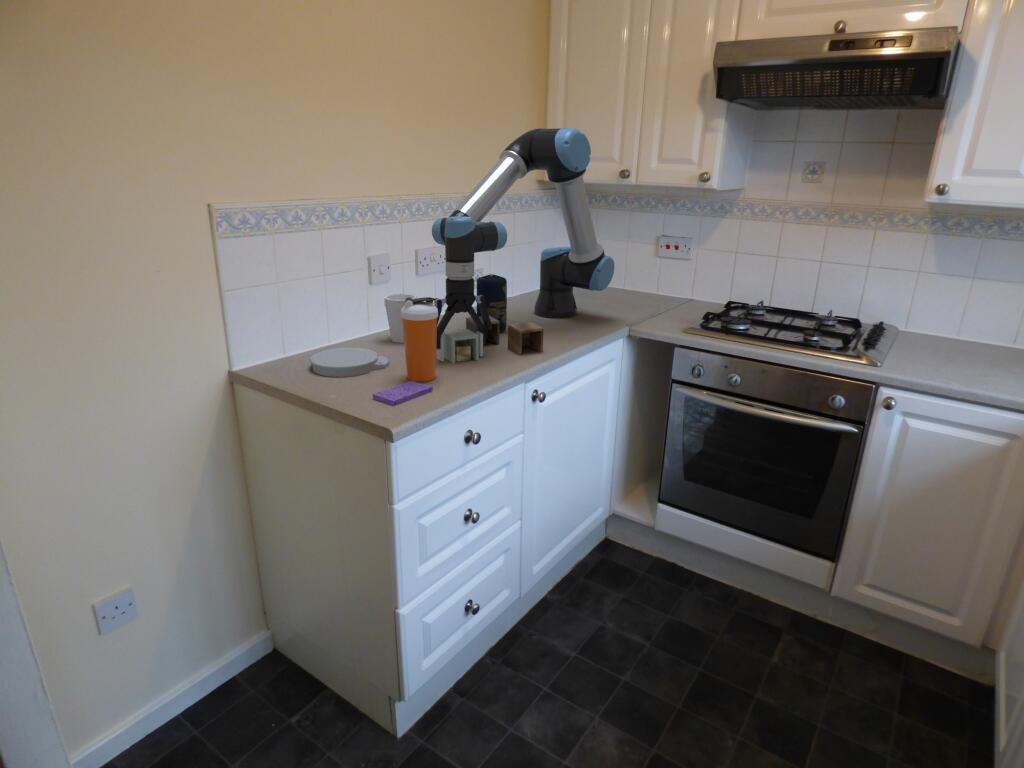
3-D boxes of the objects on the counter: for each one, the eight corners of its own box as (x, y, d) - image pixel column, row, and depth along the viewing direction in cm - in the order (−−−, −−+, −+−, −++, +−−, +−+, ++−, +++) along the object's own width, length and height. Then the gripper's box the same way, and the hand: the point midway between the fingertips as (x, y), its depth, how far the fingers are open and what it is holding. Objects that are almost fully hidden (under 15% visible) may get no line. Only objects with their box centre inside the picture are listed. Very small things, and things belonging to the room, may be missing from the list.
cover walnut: (530, 345, 191) (531, 322, 188) (542, 351, 184) (543, 328, 182) (507, 347, 187) (507, 324, 185) (519, 354, 181) (519, 330, 179)
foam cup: (408, 345, 188) (406, 301, 184) (380, 342, 191) (378, 298, 187) (423, 337, 196) (422, 295, 192) (396, 334, 199) (394, 292, 195)
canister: (502, 335, 200) (503, 277, 194) (473, 333, 202) (473, 276, 196) (509, 328, 209) (510, 272, 203) (480, 326, 211) (480, 271, 204)
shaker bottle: (442, 381, 159) (440, 301, 152) (406, 384, 157) (402, 303, 150) (436, 370, 167) (434, 294, 160) (401, 373, 165) (398, 295, 158)
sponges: (372, 401, 147) (372, 393, 147) (412, 386, 157) (412, 379, 156) (394, 408, 143) (393, 400, 143) (433, 393, 153) (433, 385, 152)
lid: (392, 375, 164) (391, 363, 163) (310, 380, 159) (309, 369, 158) (386, 355, 180) (386, 345, 179) (311, 360, 175) (310, 349, 174)
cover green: (467, 352, 182) (467, 328, 180) (478, 360, 176) (478, 335, 173) (442, 356, 179) (442, 331, 177) (452, 363, 173) (452, 338, 170)
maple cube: (465, 356, 180) (464, 342, 178) (470, 360, 176) (470, 345, 175) (451, 357, 178) (451, 343, 177) (456, 361, 175) (456, 347, 173)
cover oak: (488, 337, 197) (488, 315, 195) (499, 344, 191) (499, 321, 189) (466, 340, 194) (466, 317, 192) (476, 347, 188) (476, 323, 185)
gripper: (422, 282, 162) (425, 366, 169) (505, 277, 172) (504, 356, 179) (413, 277, 168) (415, 358, 175) (493, 272, 178) (493, 349, 185)
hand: (460, 357), depth 177 cm, fingers open, 11 cm apart
